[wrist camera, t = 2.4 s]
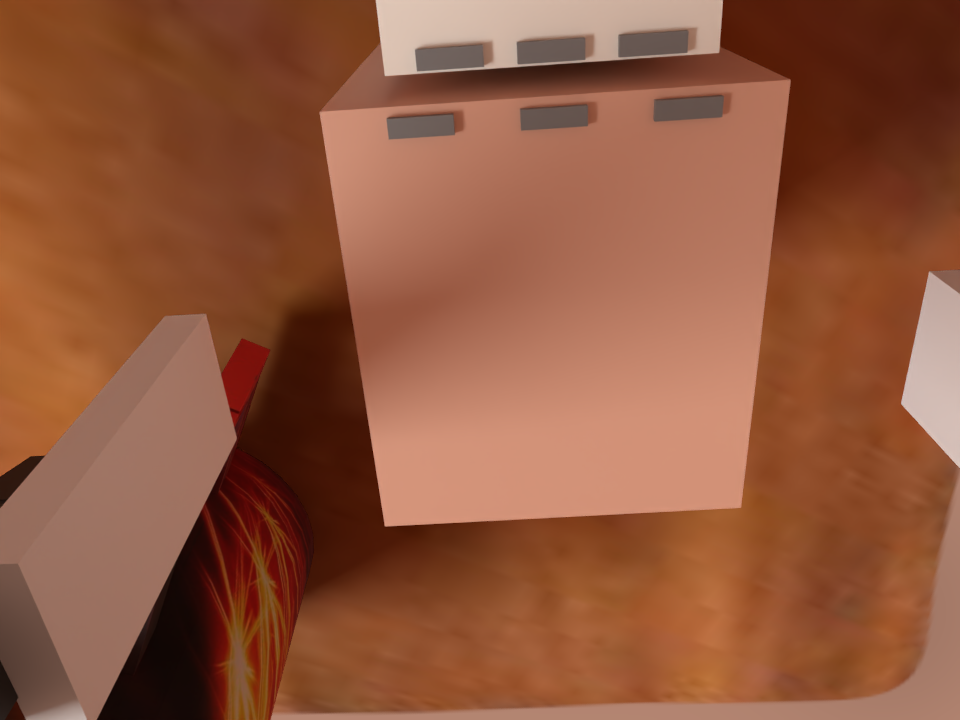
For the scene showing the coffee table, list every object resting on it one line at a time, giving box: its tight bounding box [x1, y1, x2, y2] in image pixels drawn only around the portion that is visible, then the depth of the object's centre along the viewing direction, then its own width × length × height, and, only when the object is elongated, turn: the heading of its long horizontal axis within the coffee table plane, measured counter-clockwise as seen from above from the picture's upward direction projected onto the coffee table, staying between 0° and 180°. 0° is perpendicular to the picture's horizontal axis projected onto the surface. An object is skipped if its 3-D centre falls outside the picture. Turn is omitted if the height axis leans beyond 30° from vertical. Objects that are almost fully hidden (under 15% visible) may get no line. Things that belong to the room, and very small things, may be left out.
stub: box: [320, 43, 791, 526], centre depth 18 cm, size 8×7×11 cm
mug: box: [5, 339, 314, 720], centre depth 24 cm, size 10×14×12 cm
